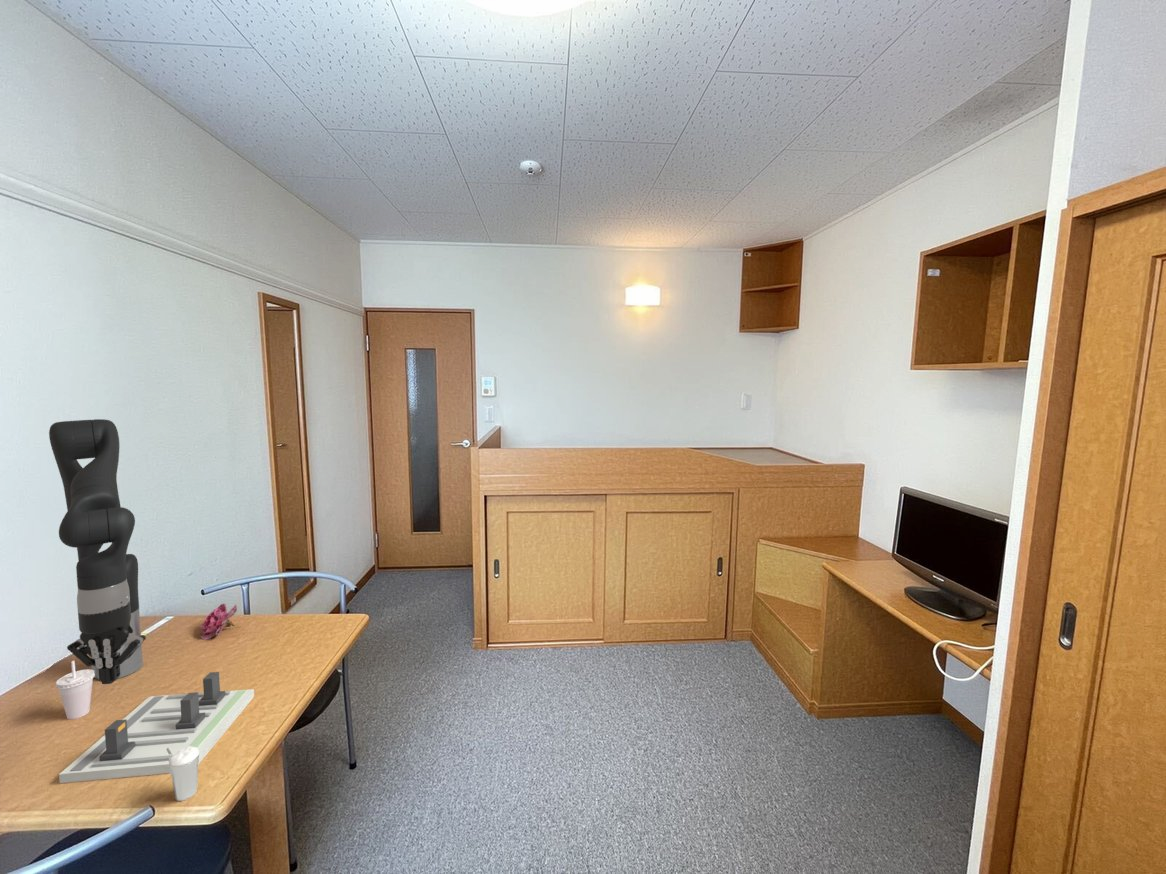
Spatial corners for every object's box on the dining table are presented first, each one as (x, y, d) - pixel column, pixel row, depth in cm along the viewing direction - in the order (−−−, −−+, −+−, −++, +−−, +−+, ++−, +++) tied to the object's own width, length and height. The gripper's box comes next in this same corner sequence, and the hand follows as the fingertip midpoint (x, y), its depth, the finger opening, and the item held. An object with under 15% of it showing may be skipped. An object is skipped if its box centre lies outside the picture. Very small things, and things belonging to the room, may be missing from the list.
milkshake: (178, 785, 94) (176, 739, 93) (206, 784, 94) (204, 738, 93) (160, 805, 89) (157, 757, 88) (189, 803, 89) (187, 756, 88)
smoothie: (52, 726, 108) (47, 670, 107) (67, 709, 114) (62, 656, 112) (90, 718, 111) (85, 663, 110) (102, 702, 117) (98, 650, 115)
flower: (201, 652, 145) (183, 626, 145) (225, 637, 155) (207, 613, 155) (232, 631, 145) (213, 606, 145) (253, 618, 155) (236, 594, 155)
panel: (59, 783, 93) (56, 742, 92) (150, 703, 117) (147, 670, 116) (193, 770, 97) (190, 731, 96) (254, 696, 121) (252, 664, 120)
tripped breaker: (99, 761, 96) (97, 731, 95) (114, 748, 99) (112, 719, 99) (121, 759, 97) (119, 729, 96) (135, 746, 100) (133, 717, 99)
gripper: (48, 614, 90) (56, 696, 92) (127, 611, 93) (133, 690, 95) (82, 597, 97) (88, 673, 99) (154, 594, 100) (159, 668, 102)
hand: (110, 681), depth 97 cm, fingers closed
